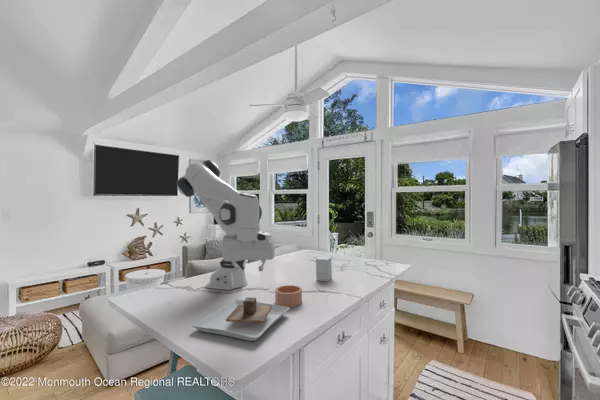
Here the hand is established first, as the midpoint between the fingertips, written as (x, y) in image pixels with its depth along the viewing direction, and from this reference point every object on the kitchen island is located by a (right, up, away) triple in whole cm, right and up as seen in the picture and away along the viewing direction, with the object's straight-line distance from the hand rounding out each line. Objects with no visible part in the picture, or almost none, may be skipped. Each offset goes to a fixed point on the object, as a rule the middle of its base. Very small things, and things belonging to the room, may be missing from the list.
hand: (249, 270), depth 110 cm
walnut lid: (0, -17, 0) cm, 17 cm away
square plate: (-2, -21, 0) cm, 21 cm away
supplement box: (+34, -19, +57) cm, 69 cm away
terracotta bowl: (+15, -20, +21) cm, 32 cm away
